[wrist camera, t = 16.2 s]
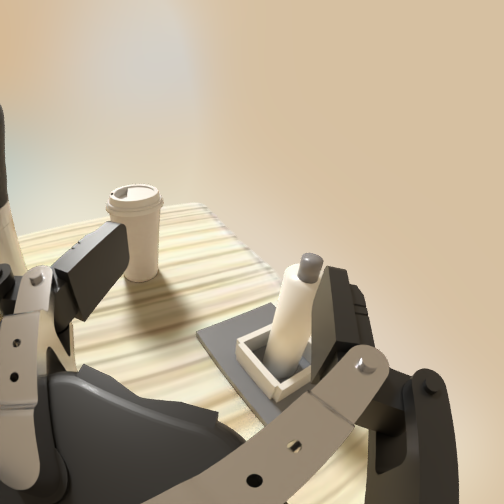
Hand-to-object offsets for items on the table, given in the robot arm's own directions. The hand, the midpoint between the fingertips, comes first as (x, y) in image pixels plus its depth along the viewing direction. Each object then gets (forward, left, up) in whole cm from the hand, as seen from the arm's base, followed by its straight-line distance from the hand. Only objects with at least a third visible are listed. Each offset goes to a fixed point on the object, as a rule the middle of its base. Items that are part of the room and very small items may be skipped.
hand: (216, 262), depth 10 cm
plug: (-5, +13, -22) cm, 26 cm away
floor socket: (-5, +13, -23) cm, 27 cm away
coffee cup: (-33, +4, -24) cm, 41 cm away
